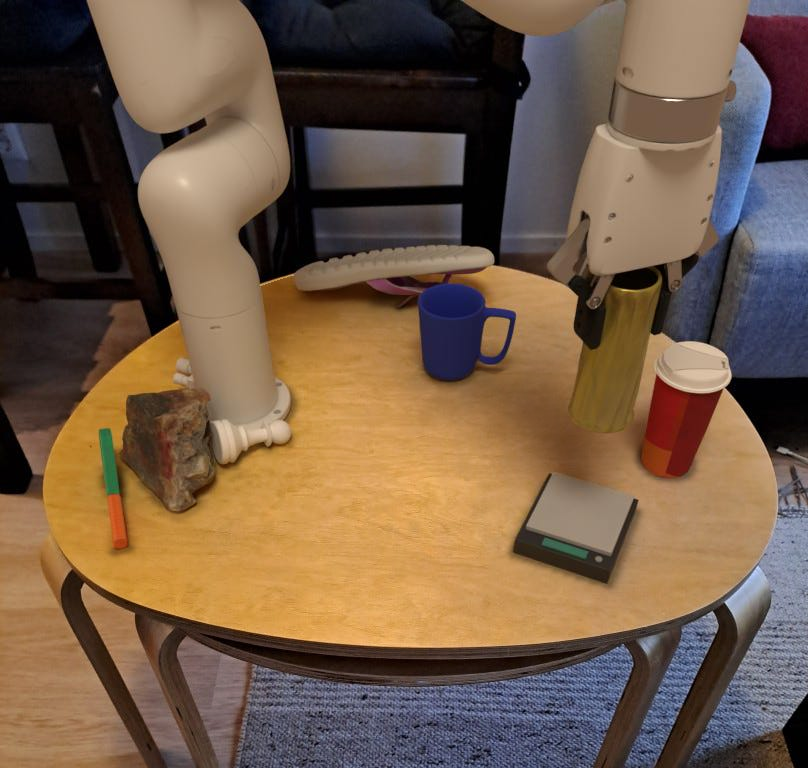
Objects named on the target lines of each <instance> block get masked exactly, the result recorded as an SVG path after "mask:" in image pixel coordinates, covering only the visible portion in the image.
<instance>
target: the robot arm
mask: <svg viewBox="0 0 808 768" xmlns="http://www.w3.org/2000/svg"><path fill="white" fill-rule="evenodd" d="M615 1H616V0H460V2H463V3H464V4H466V5H467V6H468V7H470V8H472V9H473V10H475V11H477V12H478V13H480V14H481V15H483V16H484V17H486V18H487V19H489V20H491V21H493V22H495V23H496V24H498V25H500V26H503V27H505V28H507V29H508V30H511V31H514V32H517V33H520V34H523V35H527V36H532V37H551V36H556V35H559V34H563V33H564V32H568V31H569V30H571V29H573V28H574V27H576V26H577V25H578V24H579V23H581V22H582V21H583V20H585V19H586V18H587V17H588V16H590V15H591V14H592V13H593V12H594V11H596V9H598V8H599V7H602V6H605V5H608V4H610V3H613V2H615ZM623 1H624V3H625V4H626V5H625V6H626V7H625V12H624V17H623V18H624V19H623V25H622V31H621V37H620V43H619V49H618V55H617V61H616V67H615V72H614V73H615V74H614V79H613V86H612V90H611V91H612V92H611V99H610V102H609V103H610V105H609V109H608V116H607V121H606V122H605V123H602V124H599V125H597V126H596V128H595V130H594V132H593V134H592V137H591V139H590V142H589V145H588V148H587V150H586V153H585V156H584V159H583V162H582V165H581V169H580V172H579V175H578V179H577V182H576V187H575V192H574V196H573V199H572V204H571V209H570V214H569V220H568V225H567V230H566V237H565V241H564V242H563V244H562V245H561V246H560V247H559V249H557V251H556V252H555V253H554V255H553V256H552V257H550V260H549V261H548V262H547V263H546V270H547V271H548V272H549V273H550V275H552V277H553V278H555V279H556V280H557V281H558V282H560V283H561V284H563V285H564V286H565V287H566V288H568V289H569V290H571V291H572V293H574V294H575V295H576V296H577V301H576V307H575V313H574V318H573V327H572V328H573V331H574V334H575V335H576V336H577V337H578V338H579V339H580V340H581V341H582V343H583V342H584V343H585V344H586V346H587V347H588V348H589V349H590V350H593V349H597V348H598V347H599V346H600V341H601V336H602V331H603V326H604V321H605V316H606V307H605V306H604V305H603V304H602V301H603V299H604V297H605V295H606V292H607V290H608V288H609V286H610V284H611V282H612V280H613V278H614V276H615V274H616V273H621V272H626V271H631V270H636V269H641V268H645V267H650V266H654V267H655V268H657V269H658V270H659V271H660V273H661V275H662V284H661V289H660V294H659V298H658V302H657V306H656V310H655V314H654V319H653V324H652V328H651V333H650V335H653V336H658V335H661V334H662V332H663V328H664V325H665V321H666V317H667V314H668V309H669V306H670V302H671V299H672V296H673V295H672V294H673V292H676V291H678V290H680V289H681V287H682V285H683V279H684V277H686V275H687V274H688V273H689V272H690V271H691V270H692V269H693V268H694V267H696V265H697V264H698V263H699V261H700V258H703V257H704V256H705V255H706V254H707V253H708V252H709V251H710V250H711V249H712V248H714V247H715V246H716V245H717V244H718V242H719V240H720V236H719V234H718V232H717V230H716V229H715V227H714V225H713V223H712V222H711V220H710V216H711V213H712V210H713V206H714V205H713V204H714V200H715V195H716V191H717V190H716V189H717V185H718V180H719V179H718V178H719V171H720V164H721V155H722V140H723V139H722V138H723V133H722V132H723V131H722V127H721V126H720V125H719V124H720V119H721V116H722V112H723V108H724V104H725V103H727V102H732V101H733V100H734V99H735V97H736V96H737V95H736V94H737V84H736V82H735V80H732V79H731V77H732V73H733V69H734V66H735V65H734V64H735V62H736V58H737V55H738V54H737V53H738V50H739V45H740V42H741V38H742V34H743V31H744V28H745V23H746V20H747V16H748V12H749V8H750V4H751V0H623ZM86 3H87V7H88V8H89V11H90V14H91V18H92V21H93V24H94V26H95V29H96V32H97V35H98V39H99V41H100V45H101V47H102V50H103V53H104V56H105V59H106V61H107V65H108V68H109V70H110V74H111V76H112V79H113V82H114V85H115V87H116V90H117V92H118V95H119V97H120V99H121V102H122V104H123V106H124V108H125V110H126V112H127V113H128V114H129V116H130V118H131V119H132V121H134V122H135V124H137V125H138V126H139V127H141V128H142V129H143V130H145V131H148V132H151V133H155V134H169V133H175V132H177V131H179V130H180V131H181V130H183V129H184V128H186V127H188V126H191V125H193V124H196V123H198V122H199V121H201V120H203V119H204V120H205V123H206V125H205V126H203V127H202V128H200V129H198V130H197V131H193V132H192V133H190V134H188V135H186V136H185V137H183V138H181V139H180V140H178V141H177V142H174V143H173V144H171V145H169V146H168V147H166V148H165V149H163V150H162V151H161V152H159V153H158V154H157V155H156V156H155V157H153V158H152V159H151V161H149V163H148V164H147V165H146V167H145V168H144V170H143V171H142V173H141V176H140V178H139V182H138V186H137V199H138V205H139V209H140V213H141V214H142V217H143V219H144V221H145V224H146V226H147V228H148V230H149V231H150V234H151V237H152V238H153V241H154V242H155V245H156V247H157V249H158V252H159V255H160V257H161V260H162V263H163V266H164V269H165V273H166V276H167V280H168V283H169V287H170V291H171V294H172V299H173V303H174V305H175V310H176V313H177V317H178V322H179V326H180V329H181V334H182V338H183V342H184V345H185V346H184V347H185V350H186V354H187V358H186V357H179V358H178V359H177V360H176V362H175V370H176V372H175V373H174V375H173V377H172V382H173V384H175V385H179V386H182V387H187V388H188V389H187V390H190V389H194V388H202V389H204V390H205V391H207V392H208V393H209V394H210V397H211V400H210V401H209V402H207V404H206V407H207V410H208V412H209V414H210V418H209V419H210V424H211V422H212V421H216V420H219V421H221V420H223V419H226V420H228V421H229V422H230V423H232V424H233V425H234V426H236V427H239V426H243V427H244V428H245V429H261V427H262V423H263V422H265V423H267V424H268V425H270V424H271V423H272V422H274V421H276V420H283V421H285V419H286V418H287V416H288V415H289V413H290V410H291V407H292V398H291V392H290V390H289V388H288V386H287V385H286V384H285V382H284V381H282V380H281V379H280V378H279V377H276V376H275V370H274V364H273V357H272V349H271V344H270V339H269V331H268V325H267V318H266V312H265V305H264V299H263V292H262V288H261V282H260V276H259V271H258V268H257V266H256V263H255V261H254V259H253V258H252V257H251V255H250V253H248V251H247V250H246V249H245V248H244V246H243V245H242V244H241V242H240V237H239V233H240V230H241V228H242V227H244V226H245V225H246V224H247V223H249V222H250V221H251V219H253V218H254V217H256V216H257V215H258V214H259V213H261V212H263V211H264V210H265V209H266V208H268V207H269V206H270V205H272V204H273V203H274V202H276V200H277V199H279V198H280V196H281V195H282V194H283V193H284V191H285V189H286V188H287V186H288V183H289V180H290V175H291V155H290V149H289V144H288V143H289V142H288V137H287V134H286V129H285V124H284V118H283V115H282V110H281V105H280V101H279V96H278V92H277V91H278V90H277V87H276V81H275V77H274V72H273V68H272V64H271V59H270V54H269V51H268V47H267V44H266V40H265V39H264V36H263V34H262V31H261V28H259V27H260V26H259V25H258V23H257V21H256V20H255V18H254V17H253V16H252V14H251V12H250V11H249V9H248V8H247V7H246V6H245V4H243V2H241V1H240V0H86ZM584 254H586V256H585V258H584V260H583V262H582V265H581V267H580V269H579V271H578V272H577V271H576V270H575V269H574V267H575V265H576V264H577V263H578V262H579V260H580V259H581V258H582V256H583V255H584ZM596 275H597V277H596ZM594 278H595V279H594ZM593 280H594V281H593ZM592 283H593V284H592Z"/></svg>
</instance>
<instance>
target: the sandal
mask: <svg viewBox="0 0 808 768" xmlns="http://www.w3.org/2000/svg"><path fill="white" fill-rule="evenodd" d="M494 264H495V256H494V254H493V253H492V251H490V250H489V249H487V248H485V247H481V246H470V245H460V246H459V245H455V244H449V245H447V244H437V245H435V244H429V245H426V246H425V245H417V246H416V247H415V246H407V247H405V248H404V247H395V248H394V250H393V249H392V248H383V249H382V250H381V251H380V250H379V249H374V250H370V251H369V253H366V252H365V251H364V252H358V253H356V254H355V256H353V255H352V254H348V255H343V257H342V258H338V257H332V258H329V260H328V261H326V262H324V261H323V260H320V261H319V260H318V261H315V262H312V263H309V264H307V265H305V266H303V267H301V268H299V269H298V270H296V271H295V272H294V274H293V282H294V284H295V287H296V288H297V290H298V291H303V292H312V291H333V290H338V289H342V288H347V287H351V286H354V285H358V284H368V285H369V286H370V287H372V288H373V289H375V290H376V291H379V292H382V293H385V294H389V295H394V296H395V295H398V296H408V297H407V298H406V299H405V300H403V301H402V302H400V303H399V304H398V308H401V307H403V306H404V305H405V304H406V303H408V302H409V301H410V300H411V299H413V298H415V297H417V296H420V295H421V293H422V292H423V291H425V290H426V289H428V288H430V287H432V286H435V285H439V284H447V283H449V282H450V280H451V278H452V275H455V276H456V275H473V274H478V273H481V272H483V271H485V270H486V269H487V268H490V267H492V266H493V265H494ZM421 275H444V276H443V278H442V280H441V281H427V282H425V281H424V282H423V281H421V280H418V279H416V278H414V277H413V276H421Z"/></svg>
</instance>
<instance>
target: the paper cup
mask: <svg viewBox="0 0 808 768" xmlns="http://www.w3.org/2000/svg"><path fill="white" fill-rule="evenodd" d="M653 371H654V373H655V380H654V384H653V389H652V395H651V399H650V404H649V409H648V415H647V419H646V420H647V421H646V426H645V430H644V435H643V437H644V438H643V442H642V447H641V452H640V453H641V454H640V462H641V465H642V466H643V468H644V469H645V470H646V471H648V472H649V473H651V474H652V475H655V476H656V477H660V478H665V479H675V478H680V477H682V476H684V475H685V474H687V473H688V472H689V471H690V469H691V466H692V464H693V462H694V460H695V458H696V455H697V453H698V451H699V448H700V446H701V443H702V442H703V439H704V437H705V435H706V434H707V433H706V432H707V431H708V428H709V426H710V423H711V420H712V418H713V415H714V413H715V411H716V408H717V406H718V403H719V402H720V398H721V397H722V394H723V392H724V389H725V388H726V387H727V386H728V385H729V384H730V382H731V380H732V376H733V375H732V370H731V367H730V363H729V357H728V356H727V355H726V354H725V353H724V352H723V351H721V350H720V349H719V348H717V347H715V346H713V345H710V344H708V343H704V342H701V341H700V342H699V341H690V340H689V341H679V342H675V343H673V344H671V345H670V346H668V347H667V348H666V349H665V350H664V351H662V352H661V353H660V354H659V356H658V357H657V358H656V359H655V360H654V361H653Z"/></svg>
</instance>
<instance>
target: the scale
mask: <svg viewBox="0 0 808 768" xmlns="http://www.w3.org/2000/svg"><path fill="white" fill-rule="evenodd" d="M639 502H640V501H639V499H637V498H635V495H634V494H631V493H627V492H624V491H622V490H621V491H620V490H617V489H613V488H611V487H607V486H604V485H601V484H597V483H594V482H590V481H588V480H584V479H581V478H577V477H573V476H570V475H566V474H564V473H560V472H556V471H553V472H552V473H548V474H547V477H546V478H545V481H544V482H543V484H542V486H541V488H540V490H539V492H538V494H537V496H536V498H535V500H534V502H533V504H532V506H531V507H530V509H529V512H528V513H527V515H526V517H525V520H524V521H523V523H522V525H521V527H520V529H519V531H518V533H517V535H516V536H515V539H514V543H513V553H514V554H517V555H519V556H523V557H525V558H528V559H532V560H533V561H534V560H535V561H537V562H541V563H543V564H547V565H550V566H552V567H556V568H559V569H561V570H564V571H568V572H570V573H574V574H577V575H580V576H582V577H586V578H588V579H592V580H595V581H598V582H601V583H604V584H608V583H609V581H610V578H611V575H612V573H613V570H614V568H615V565H616V563H617V561H618V558H619V555H620V552H621V550H622V547H623V544H624V542H625V539H626V537H627V534H628V532H629V530H630V526H631V524H632V522H633V519H634V517H635V514H636V511H637V507H638V504H639Z"/></svg>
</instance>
